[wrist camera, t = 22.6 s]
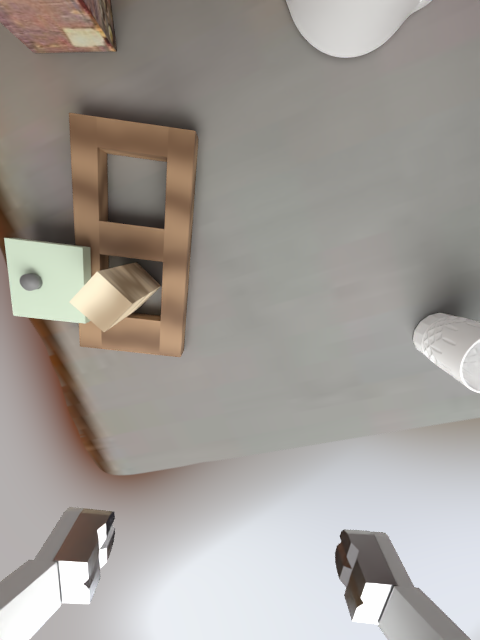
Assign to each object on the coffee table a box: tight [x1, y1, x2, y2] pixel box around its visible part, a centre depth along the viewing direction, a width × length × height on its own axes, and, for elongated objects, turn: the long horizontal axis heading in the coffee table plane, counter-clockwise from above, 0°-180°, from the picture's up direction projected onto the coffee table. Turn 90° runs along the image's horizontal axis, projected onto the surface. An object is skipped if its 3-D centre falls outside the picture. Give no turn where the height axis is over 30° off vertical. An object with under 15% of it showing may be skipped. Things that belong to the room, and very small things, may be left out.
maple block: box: [70, 262, 161, 332], centre depth 33 cm, size 4×4×11 cm
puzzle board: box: [69, 113, 198, 357], centre depth 36 cm, size 28×14×2 cm, turn 173°
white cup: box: [413, 313, 480, 393], centre depth 36 cm, size 8×8×10 cm
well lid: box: [4, 238, 91, 324], centre depth 34 cm, size 10×9×3 cm
